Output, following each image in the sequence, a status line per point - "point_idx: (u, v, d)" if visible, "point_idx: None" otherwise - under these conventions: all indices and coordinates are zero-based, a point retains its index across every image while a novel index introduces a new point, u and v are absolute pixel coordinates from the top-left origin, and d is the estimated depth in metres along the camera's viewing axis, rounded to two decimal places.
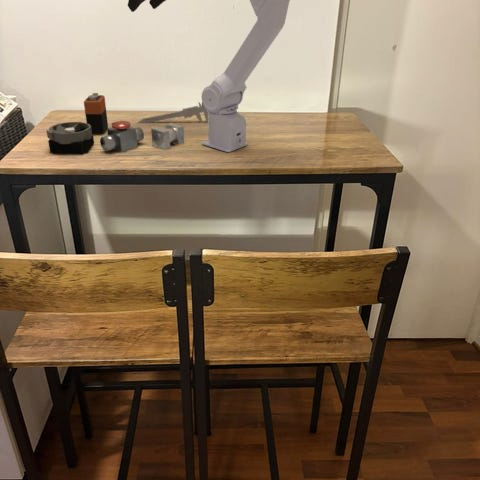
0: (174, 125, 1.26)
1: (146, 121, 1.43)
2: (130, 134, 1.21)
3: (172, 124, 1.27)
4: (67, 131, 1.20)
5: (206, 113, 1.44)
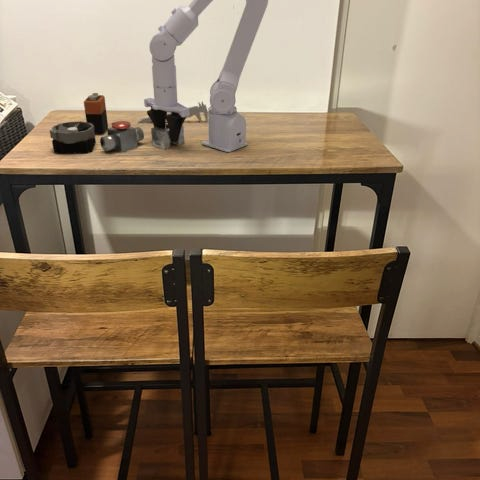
0: None
1: (146, 121, 1.43)
2: (130, 134, 1.21)
3: None
4: (70, 131, 1.21)
5: (206, 113, 1.44)
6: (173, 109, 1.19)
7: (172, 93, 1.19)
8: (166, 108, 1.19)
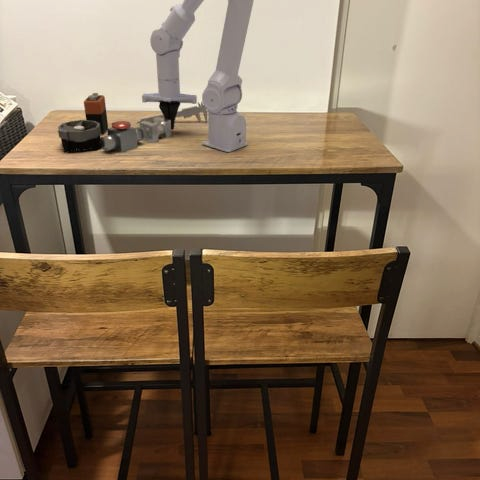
0: (161, 119, 1.31)
1: None
2: (130, 134, 1.21)
3: (159, 118, 1.31)
4: (77, 129, 1.22)
5: (205, 113, 1.44)
6: (184, 98, 1.29)
7: (179, 83, 1.29)
8: (177, 98, 1.29)
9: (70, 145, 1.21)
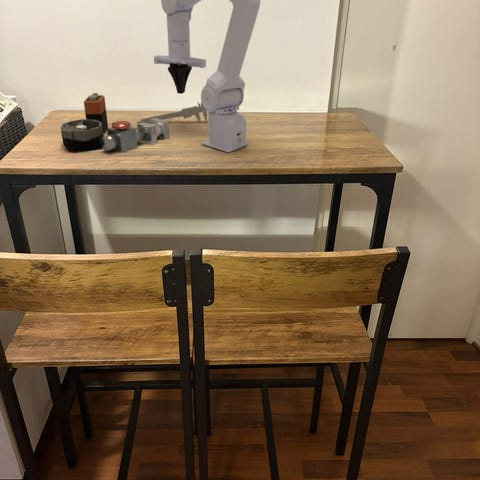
0: (159, 120, 1.30)
1: (145, 121, 1.43)
2: (130, 134, 1.21)
3: (157, 119, 1.31)
4: (80, 129, 1.22)
5: (205, 113, 1.43)
6: (192, 61, 1.28)
7: (188, 46, 1.28)
8: (184, 61, 1.28)
9: None
